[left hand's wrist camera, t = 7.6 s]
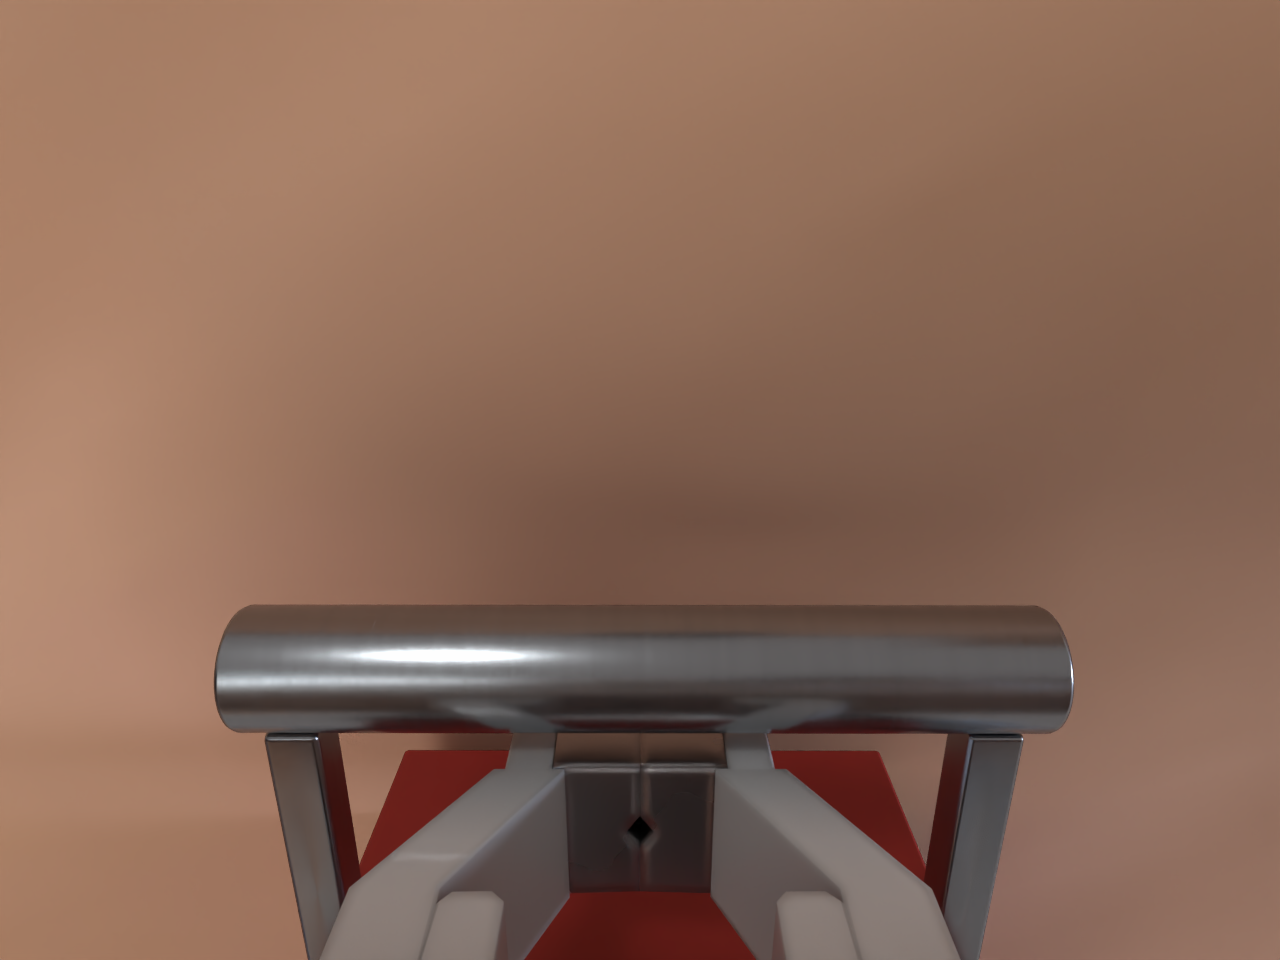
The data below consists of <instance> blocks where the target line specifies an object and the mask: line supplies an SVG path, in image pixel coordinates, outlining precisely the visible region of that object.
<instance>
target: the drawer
mask: <svg viewBox="0 0 1280 960" xmlns="http://www.w3.org/2000/svg"><path fill="white" fill-rule="evenodd" d="M214 694H215V701H216V706H217V710H218V713H219V715H220V718H221V720H222V721H223V723H224V724H225V725H226V726H227V727H228V728H229V729H231V730H233V731H235V732H239V733H266V736H265V745H266V750H267V755H268V760H269V765H270V771H271V776H272V781H273V786H274V791H275V796H276V801H277V806H278V811H279V816H280V821H281V826H282V831H283V836H284V841H285V846H286V851H287V856H288V861H289V866H290V872H291V877H292V882H293V887H294V892H295V897H296V902H297V907H298V912H299V917H300V922H301V927H302V932H303V937H304V942H305V947H306V952H307V957H308V960H319V959H320V957H321V955H322V952H323V950H324V947H325V945H326V942H327V940H328V938H329V935H330V933H331V930H332V928H333V925H334V923H335V921H336V918H337V916H338V913H339V911H340V909H341V906H342V904H343V901H344V899H345V896H346V894H347V892H348V889H349V887H351V886H352V885H353V884H354V883H355V882H357V881H358V880H359V879H360V878H362V877H363V876H364V875H365V874H366V873H368V872H369V871H370V870H371V869H373V868H374V867H375V866H376V865H377V864H379V863H380V862H381V861H382V860H383V859H385V858H386V857H387V856H388V855H390V854H391V853H392V852H393V851H394V850H396V849H397V848H398V847H399V846H401V845H402V844H403V843H404V842H405V841H407V840H408V839H409V838H410V837H412V836H413V835H414V834H415V833H416V832H418V831H419V830H420V829H421V828H423V827H424V826H425V825H426V824H427V823H429V822H430V821H431V820H432V819H433V818H435V817H436V816H437V815H438V814H440V813H441V812H442V811H443V810H444V809H446V808H447V807H448V806H449V805H451V804H452V803H453V802H454V801H455V800H457V799H458V798H459V797H460V796H462V795H463V794H464V793H465V792H466V791H468V790H469V789H470V788H471V787H473V786H474V785H475V784H476V783H477V782H479V781H480V780H481V779H482V778H484V777H485V776H486V775H487V774H488V773H490V772H491V771H492V770H493V769H505V767H506V763H507V758H508V754H509V750H408V751H406V752H405V754H404V756H403V759H402V761H401V764H400V766H399V769H398V771H397V774H396V776H395V779H394V781H393V783H392V786H391V788H390V791H389V793H388V796H387V798H386V801H385V803H384V806H383V808H382V810H381V813H380V815H379V818H378V820H377V823H376V825H375V828H374V830H373V833H372V835H371V838H370V840H369V842H368V845H367V847H366V850H365V852H364V855H363V857H362V860H361V862H360V865H359V861H358V854H357V848H356V842H355V835H354V829H353V823H352V817H351V810H350V804H349V798H348V791H347V785H346V779H345V772H344V766H343V760H342V753H341V747H340V741H339V734H338V733H798V734H948V736H947V742H946V748H945V754H944V760H943V766H942V772H941V778H940V785H939V791H938V797H937V803H936V809H935V815H934V821H933V827H932V834H931V840H930V846H929V852H928V858H927V864H926V866H925V863H924V861H923V858H922V856H921V853H920V851H919V849H918V846H917V844H916V841H915V839H914V836H913V834H912V831H911V829H910V827H909V824H908V822H907V819H906V817H905V814H904V812H903V810H902V807H901V805H900V802H899V800H898V797H897V795H896V792H895V790H894V788H893V785H892V783H891V780H890V778H889V775H888V773H887V771H886V768H885V766H884V763H883V761H882V758H881V756H880V753H879V752H877V751H771V754H772V759H773V763H774V767H775V769H787V770H788V771H789V772H790V773H792V774H793V775H794V776H795V777H797V778H798V779H799V780H800V781H801V782H803V783H804V784H805V785H806V786H807V787H809V788H810V789H811V790H812V791H814V792H815V793H816V794H817V795H818V796H820V797H821V798H822V799H823V800H824V801H826V802H827V803H828V804H829V805H830V806H832V807H833V808H834V809H835V810H837V811H838V812H839V813H840V814H841V815H843V816H844V817H845V818H846V819H847V820H849V821H850V822H851V823H852V824H854V825H855V826H856V827H857V828H858V829H860V830H861V831H862V832H863V833H864V834H866V835H867V836H868V837H869V838H871V839H872V840H873V841H874V842H875V843H877V844H878V845H879V846H880V847H881V848H883V849H884V850H885V851H886V852H888V853H889V854H890V855H891V856H892V857H894V858H895V859H896V860H897V861H898V862H900V863H901V864H902V865H903V866H905V867H906V868H907V869H908V870H909V871H911V872H912V873H913V874H914V875H915V876H917V877H918V878H919V879H920V880H922V881H923V882H924V883H925V884H926V885H928V886H929V887H930V888H931V889H932V891H933V893H934V895H935V898H936V900H937V903H938V905H939V908H940V910H941V913H942V915H943V918H944V920H945V923H946V925H947V927H948V930H949V932H950V935H951V937H952V940H953V942H954V945H955V947H956V950H957V952H958V955H959V957H960V959H961V960H979V957H980V952H981V947H982V942H983V937H984V932H985V927H986V922H987V917H988V912H989V908H990V903H991V898H992V893H993V888H994V883H995V878H996V873H997V868H998V863H999V859H1000V854H1001V849H1002V844H1003V839H1004V834H1005V829H1006V824H1007V819H1008V814H1009V810H1010V805H1011V800H1012V795H1013V790H1014V785H1015V780H1016V775H1017V770H1018V765H1019V761H1020V756H1021V751H1022V746H1023V736H1022V734H1049V733H1052V732H1055V731H1057V730H1059V729H1060V728H1061V727H1062V726H1063V725H1064V724H1065V722H1066V720H1067V718H1068V716H1069V713H1070V710H1071V707H1072V701H1073V694H1074V673H1073V664H1072V659H1071V654H1070V650H1069V646H1068V643H1067V640H1066V637H1065V635H1064V633H1063V631H1062V629H1061V627H1060V625H1059V623H1058V622H1057V620H1056V619H1055V618H1054V617H1053V615H1052V614H1051V613H1049V612H1048V611H1047V610H1045V609H1043V608H1041V607H1038V606H1004V605H250V606H247V607H245V608H242V609H241V610H239V611H238V612H237V613H236V614H235V615H234V616H233V618H232V619H231V620H230V622H229V624H228V625H227V627H226V629H225V631H224V634H223V636H222V639H221V642H220V645H219V648H218V652H217V657H216V662H215V671H214ZM569 894H570V898H569V899H568V900H567V902H566V903H565V905H564V906H563V907H562V909H561V910H560V911H559V913H558V914H557V915H556V917H555V918H554V920H553V921H552V922H551V924H550V925H549V926H548V928H547V929H546V931H545V932H544V933H543V935H542V936H541V937H540V939H539V940H538V941H537V943H536V944H535V946H534V947H533V948H532V950H531V951H530V952H529V954H528V955H527V957H526V958H525V959H524V960H756V959H755V957H754V956H753V955H752V953H751V952H750V950H749V949H748V948H747V946H746V945H745V944H744V942H743V941H742V939H741V938H740V937H739V935H738V934H737V933H736V931H735V930H734V928H733V927H732V926H731V924H730V923H729V922H728V920H727V919H726V917H725V916H724V915H723V913H722V912H721V911H720V909H719V908H718V906H717V905H716V904H715V902H714V901H713V900H712V898H711V897H710V895H711V893H683V892H648V891H630V892H596V893H569Z"/></svg>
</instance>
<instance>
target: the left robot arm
mask: <svg viewBox="0 0 1280 960" xmlns="http://www.w3.org/2000/svg"><path fill="white" fill-rule="evenodd" d="M630 891H648V892H683V893H711V895H710V897H711V898H712V900H713V901H714V902H715V904H716V905H717V906H718V908H719V909H720V911H721V912H722V913H723V915H724V916H725V917H726V919H727V920H728V922H729V923H730V924H731V926H732V927H733V928H734V930H735V931H736V933H737V934H738V935H739V937H740V938H741V939H742V941H743V942H744V944H745V945H746V946H747V948H748V949H749V950H750V952H751V953H752V955H753V956H754V957H755V959H756V960H961V959H960V957H959V955H958V952H957V950H956V947H955V945H954V942H953V940H952V937H951V935H950V932H949V930H948V927H947V925H946V923H945V920H944V918H943V915H942V913H941V910H940V908H939V905H938V903H937V900H936V898H935V895H934V893H933V891H932V889H931V888H930V887H929V886H928V885H926V884H925V883H924V882H923V881H922V880H920V879H919V878H918V877H917V876H915V875H914V874H913V873H912V872H911V871H909V870H908V869H907V868H906V867H905V866H903V865H902V864H901V863H900V862H898V861H897V860H896V859H895V858H894V857H892V856H891V855H890V854H889V853H888V852H886V851H885V850H884V849H883V848H881V847H880V846H879V845H878V844H877V843H875V842H874V841H873V840H872V839H871V838H869V837H868V836H867V835H866V834H864V833H863V832H862V831H861V830H860V829H858V828H857V827H856V826H855V825H854V824H852V823H851V822H850V821H849V820H847V819H846V818H845V817H844V816H843V815H841V814H840V813H839V812H838V811H837V810H835V809H834V808H833V807H832V806H830V805H829V804H828V803H827V802H826V801H824V800H823V799H822V798H821V797H820V796H818V795H817V794H816V793H815V792H814V791H812V790H811V789H810V788H809V787H807V786H806V785H805V784H804V783H803V782H801V781H800V780H799V779H798V778H797V777H795V776H794V775H793V774H792V773H790V772H789V771H788V770H787V769H775V767H774V763H773V759H772V754H771V750H770V745H769V741H768V737H767V733H513V736H512V741H511V745H510V750H509V754H508V758H507V763H506V767H505V769H493V770H492V771H491V772H490V773H488V774H487V775H486V776H485V777H484V778H482V779H481V780H480V781H479V782H477V783H476V784H475V785H474V786H473V787H471V788H470V789H469V790H468V791H466V792H465V793H464V794H463V795H462V796H460V797H459V798H458V799H457V800H455V801H454V802H453V803H452V804H451V805H449V806H448V807H447V808H446V809H444V810H443V811H442V812H441V813H440V814H438V815H437V816H436V817H435V818H433V819H432V820H431V821H430V822H429V823H427V824H426V825H425V826H424V827H423V828H421V829H420V830H419V831H418V832H416V833H415V834H414V835H413V836H412V837H410V838H409V839H408V840H407V841H405V842H404V843H403V844H402V845H401V846H399V847H398V848H397V849H396V850H394V851H393V852H392V853H391V854H390V855H388V856H387V857H386V858H385V859H383V860H382V861H381V862H380V863H379V864H377V865H376V866H375V867H374V868H373V869H371V870H370V871H369V872H368V873H366V874H365V875H364V876H363V877H362V878H360V879H359V880H358V881H357V882H355V883H354V884H353V885H352V886H351V887H349V889H348V892H347V894H346V896H345V899H344V901H343V904H342V906H341V909H340V911H339V913H338V916H337V918H336V921H335V923H334V925H333V928H332V930H331V933H330V935H329V938H328V940H327V942H326V945H325V947H324V950H323V952H322V955H321V957H320V959H319V960H524V959H525V958H526V957H527V955H528V954H529V952H530V951H531V950H532V948H533V947H534V946H535V944H536V943H537V941H538V940H539V939H540V937H541V936H542V935H543V933H544V932H545V931H546V929H547V928H548V926H549V925H550V924H551V922H552V921H553V920H554V918H555V917H556V915H557V914H558V913H559V911H560V910H561V909H562V907H563V906H564V905H565V903H566V902H567V900H568V899H569V898H570V894H569V893H596V892H630Z"/></svg>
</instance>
